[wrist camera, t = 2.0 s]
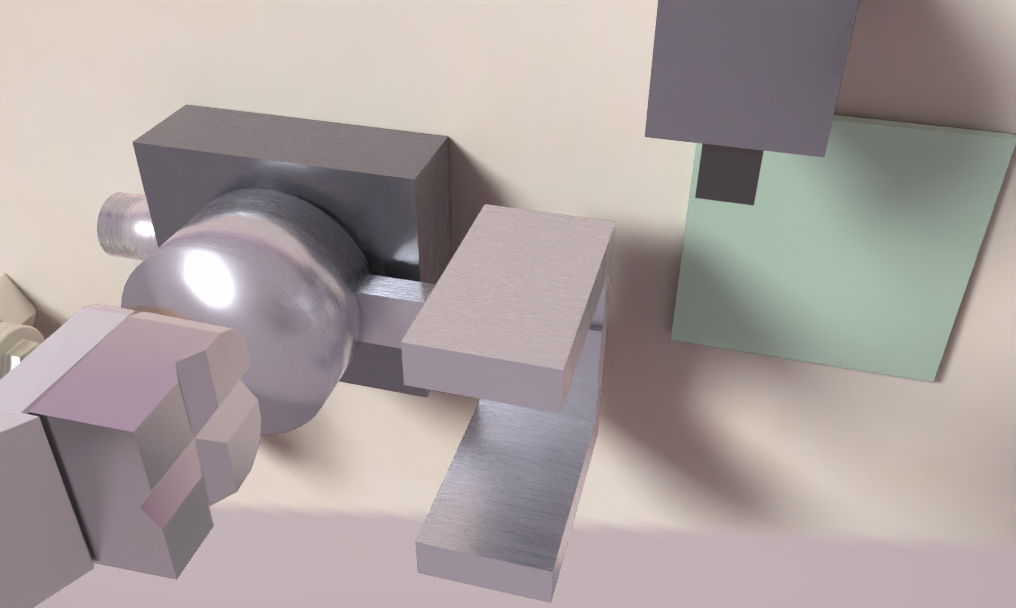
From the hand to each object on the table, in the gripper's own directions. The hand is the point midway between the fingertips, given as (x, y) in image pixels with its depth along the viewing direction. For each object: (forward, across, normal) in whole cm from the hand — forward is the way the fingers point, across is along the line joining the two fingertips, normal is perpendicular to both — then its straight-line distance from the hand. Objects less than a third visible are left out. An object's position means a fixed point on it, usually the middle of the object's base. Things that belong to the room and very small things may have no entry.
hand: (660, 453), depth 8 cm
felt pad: (+19, -4, +8) cm, 21 cm away
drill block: (+19, +14, +10) cm, 25 cm away
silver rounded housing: (+16, +9, +10) cm, 21 cm away
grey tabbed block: (+19, 0, 0) cm, 19 cm away
